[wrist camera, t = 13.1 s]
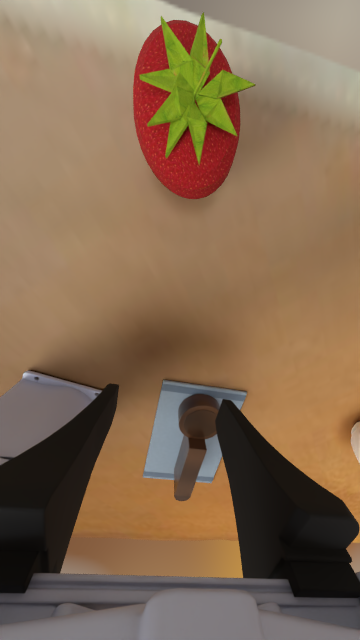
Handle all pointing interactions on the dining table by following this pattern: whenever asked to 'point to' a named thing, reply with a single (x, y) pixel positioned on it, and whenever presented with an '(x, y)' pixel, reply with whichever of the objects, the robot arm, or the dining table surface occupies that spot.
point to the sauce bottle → (356, 440)
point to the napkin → (170, 436)
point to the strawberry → (186, 108)
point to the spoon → (193, 440)
